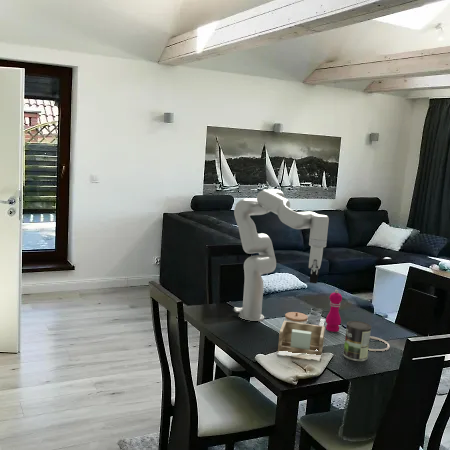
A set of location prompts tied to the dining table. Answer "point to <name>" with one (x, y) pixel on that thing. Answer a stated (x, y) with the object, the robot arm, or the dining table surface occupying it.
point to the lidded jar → (296, 317)
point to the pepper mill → (334, 312)
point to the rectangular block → (300, 339)
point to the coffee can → (357, 340)
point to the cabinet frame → (315, 330)
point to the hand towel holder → (379, 340)
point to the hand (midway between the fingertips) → (314, 280)
